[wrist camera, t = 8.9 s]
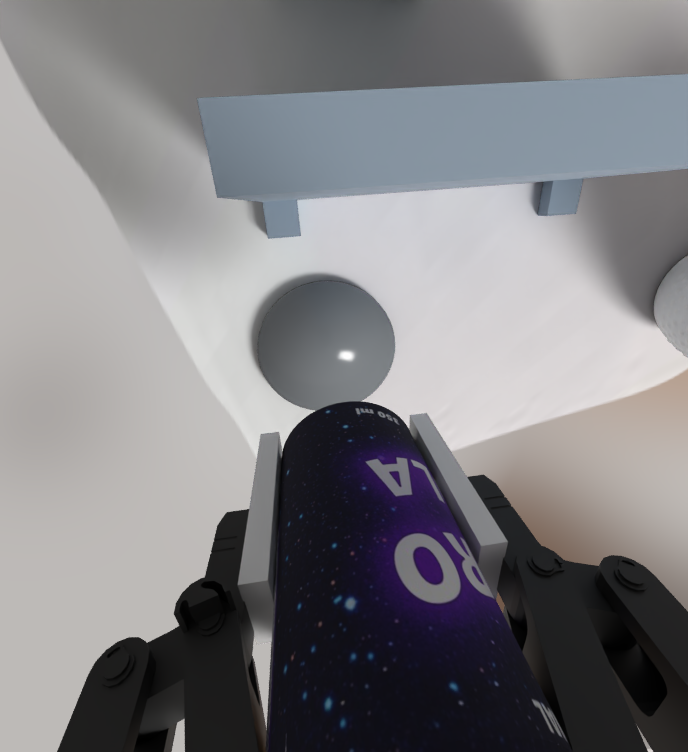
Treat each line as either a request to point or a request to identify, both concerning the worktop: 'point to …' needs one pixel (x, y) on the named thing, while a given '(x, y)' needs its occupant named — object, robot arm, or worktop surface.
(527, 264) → the worktop surface
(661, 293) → the mug
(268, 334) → the grey dome disc
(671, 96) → the panel
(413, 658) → the beverage can
